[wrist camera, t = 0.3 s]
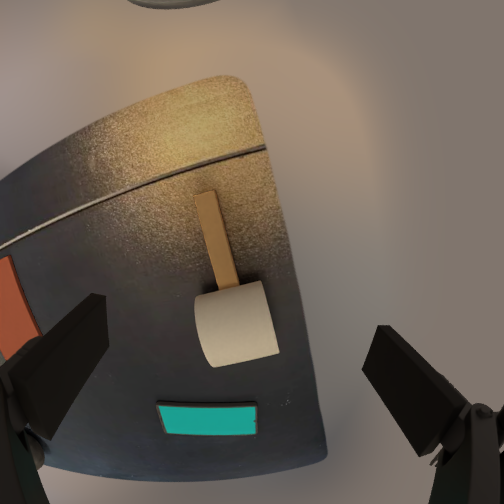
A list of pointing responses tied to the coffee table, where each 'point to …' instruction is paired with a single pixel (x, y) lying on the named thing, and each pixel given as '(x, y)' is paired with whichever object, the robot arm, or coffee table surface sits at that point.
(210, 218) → the mallet
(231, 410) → the smartphone
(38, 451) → the decorative ball
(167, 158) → the coffee table surface
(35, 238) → the coffee table surface
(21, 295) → the mat
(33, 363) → the robot arm
